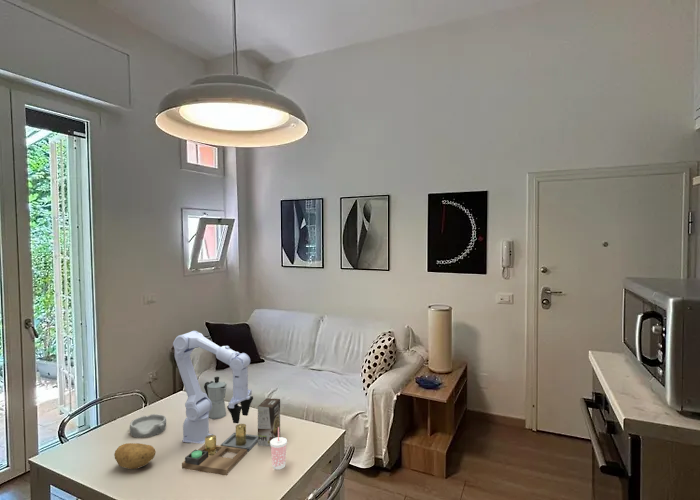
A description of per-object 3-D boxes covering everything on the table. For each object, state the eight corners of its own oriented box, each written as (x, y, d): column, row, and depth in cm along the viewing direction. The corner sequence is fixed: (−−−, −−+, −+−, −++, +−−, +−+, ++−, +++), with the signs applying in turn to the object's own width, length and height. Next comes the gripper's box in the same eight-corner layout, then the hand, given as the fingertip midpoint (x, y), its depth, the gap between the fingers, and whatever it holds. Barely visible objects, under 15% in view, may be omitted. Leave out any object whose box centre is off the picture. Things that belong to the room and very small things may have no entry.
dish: (168, 433, 166) (168, 421, 166) (131, 442, 158) (131, 430, 158) (163, 420, 178) (163, 409, 178) (128, 429, 170) (128, 417, 170)
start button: (189, 461, 140) (189, 454, 140) (195, 456, 144) (195, 449, 144) (198, 462, 139) (198, 456, 139) (204, 457, 143) (204, 451, 143)
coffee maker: (233, 414, 184) (233, 376, 183) (218, 422, 176) (218, 382, 176) (212, 407, 191) (212, 371, 191) (197, 414, 184) (196, 376, 184)
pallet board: (181, 468, 140) (181, 457, 140) (205, 448, 153) (205, 438, 153) (226, 475, 135) (226, 464, 135) (246, 454, 149) (246, 444, 149)
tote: (220, 449, 153) (220, 444, 153) (234, 436, 162) (234, 432, 162) (248, 453, 150) (248, 448, 150) (260, 440, 159) (260, 436, 159)
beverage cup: (279, 459, 145) (279, 421, 145) (290, 465, 142) (290, 426, 141) (266, 466, 141) (266, 428, 141) (277, 472, 137) (277, 433, 137)
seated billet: (202, 457, 147) (202, 439, 147) (209, 452, 150) (209, 434, 150) (212, 459, 146) (212, 440, 146) (218, 453, 150) (218, 435, 149)
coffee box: (272, 448, 153) (272, 407, 153) (257, 446, 155) (256, 406, 154) (281, 437, 162) (280, 398, 162) (266, 435, 164) (266, 397, 163)
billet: (233, 445, 155) (233, 427, 154) (239, 440, 158) (238, 423, 158) (242, 446, 154) (242, 428, 153) (247, 441, 157) (247, 424, 157)
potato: (146, 475, 136) (146, 452, 135) (108, 473, 137) (107, 451, 136) (161, 460, 145) (161, 438, 145) (125, 458, 146) (125, 437, 146)
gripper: (240, 392, 148) (240, 428, 148) (258, 379, 162) (258, 412, 162) (223, 391, 149) (223, 426, 150) (242, 378, 163) (243, 410, 164)
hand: (240, 418), depth 156 cm, fingers open, 6 cm apart
